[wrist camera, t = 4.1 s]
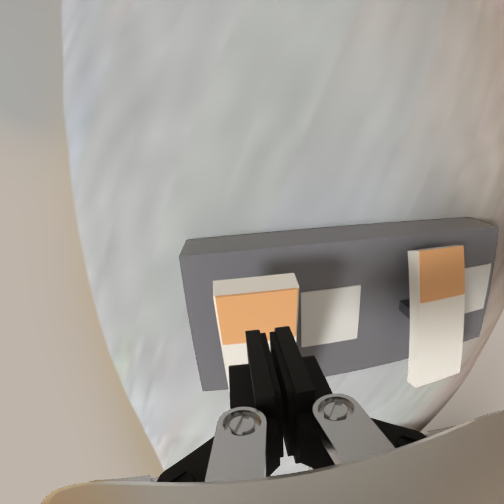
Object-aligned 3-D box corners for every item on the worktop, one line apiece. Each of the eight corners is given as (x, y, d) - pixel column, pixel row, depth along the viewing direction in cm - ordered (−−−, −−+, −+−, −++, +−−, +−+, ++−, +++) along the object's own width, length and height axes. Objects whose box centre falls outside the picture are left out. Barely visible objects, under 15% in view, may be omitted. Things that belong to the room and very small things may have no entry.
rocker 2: (407, 250, 19) (418, 251, 17) (452, 245, 19) (464, 245, 18) (407, 381, 19) (416, 388, 18) (450, 367, 19) (460, 372, 18)
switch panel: (186, 239, 22) (175, 264, 17) (468, 217, 24) (510, 231, 18) (204, 359, 25) (202, 404, 20) (455, 317, 27) (488, 344, 21)
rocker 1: (212, 280, 16) (213, 297, 14) (294, 272, 16) (299, 289, 15) (230, 387, 20) (231, 403, 19) (288, 380, 21) (292, 396, 19)
